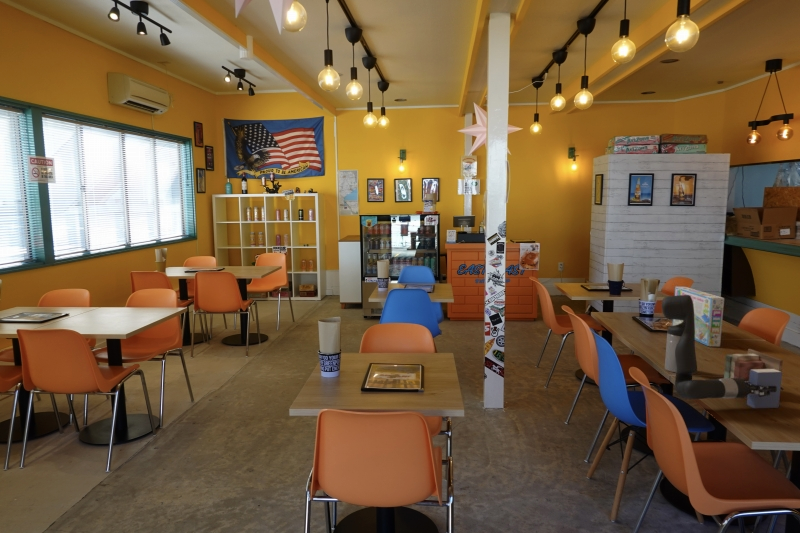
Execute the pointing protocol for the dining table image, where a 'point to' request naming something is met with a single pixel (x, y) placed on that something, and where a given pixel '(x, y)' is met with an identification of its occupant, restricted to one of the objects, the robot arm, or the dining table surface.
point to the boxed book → (764, 379)
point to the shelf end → (749, 364)
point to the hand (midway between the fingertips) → (770, 386)
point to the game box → (704, 315)
